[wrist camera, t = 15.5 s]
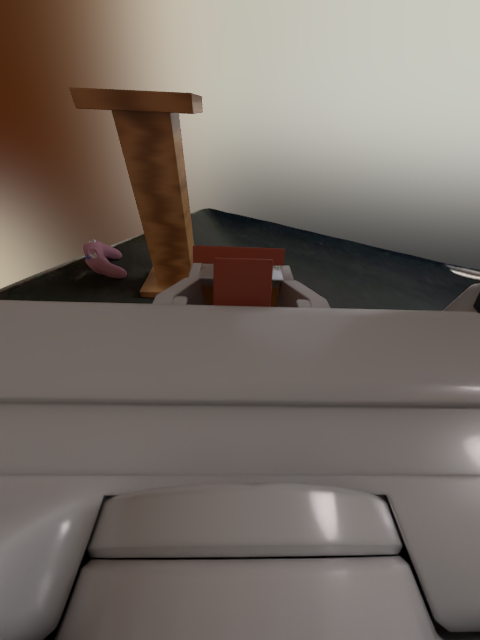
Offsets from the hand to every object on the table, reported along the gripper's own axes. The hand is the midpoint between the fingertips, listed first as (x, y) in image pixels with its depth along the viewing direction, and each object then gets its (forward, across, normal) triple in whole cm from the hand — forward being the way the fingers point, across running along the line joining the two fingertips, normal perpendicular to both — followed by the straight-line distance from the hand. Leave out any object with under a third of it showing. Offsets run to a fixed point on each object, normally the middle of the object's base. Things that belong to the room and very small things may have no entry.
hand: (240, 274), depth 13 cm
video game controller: (+29, +26, +18) cm, 43 cm away
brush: (+3, 0, +4) cm, 5 cm away
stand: (+25, +11, +18) cm, 33 cm away
